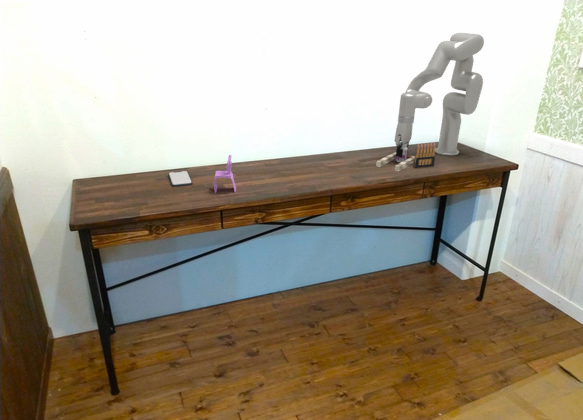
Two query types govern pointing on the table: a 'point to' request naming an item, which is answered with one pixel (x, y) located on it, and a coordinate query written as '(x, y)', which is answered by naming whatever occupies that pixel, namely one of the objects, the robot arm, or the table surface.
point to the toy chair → (225, 174)
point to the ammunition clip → (424, 156)
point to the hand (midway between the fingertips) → (401, 154)
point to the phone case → (180, 179)
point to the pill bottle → (404, 155)
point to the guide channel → (393, 156)
